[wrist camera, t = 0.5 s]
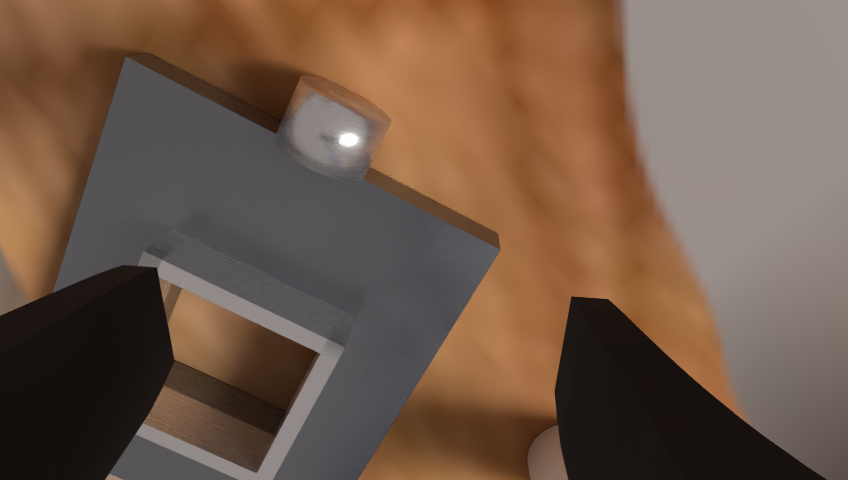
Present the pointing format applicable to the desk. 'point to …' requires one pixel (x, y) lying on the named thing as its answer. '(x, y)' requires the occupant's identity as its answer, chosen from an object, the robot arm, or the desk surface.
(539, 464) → the spout can
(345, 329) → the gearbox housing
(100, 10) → the desk surface
